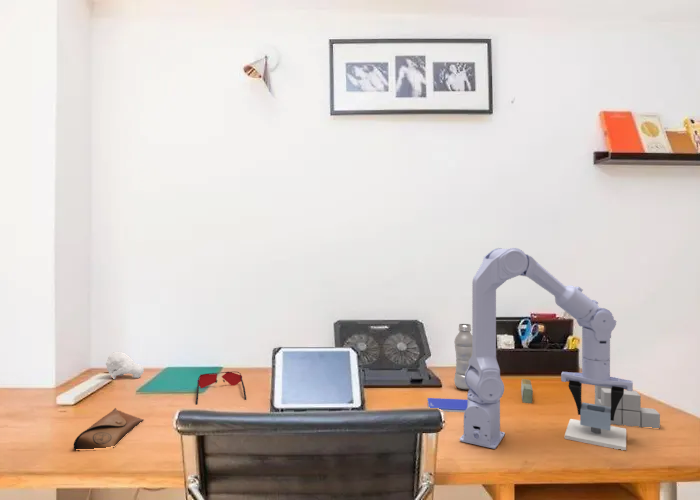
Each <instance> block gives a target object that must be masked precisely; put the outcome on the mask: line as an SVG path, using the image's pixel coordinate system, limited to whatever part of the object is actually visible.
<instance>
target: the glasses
mask: <svg viewBox="0 0 700 500" xmlns="http://www.w3.org/2000/svg"><path fill="white" fill-rule="evenodd" d="M220 374H223V375H222V376H221V378H222V381H223V383H224V384H225V383H228V384H229V385H230V386H236V385H238V384H239V383H241V386H242V389H243V390H242V391H243V398H244V401H247V395H246V393H247V392H246V388H245V385H244V381H243V375H242V373H240V372H239V371H236V372H233V371H223V372H220ZM217 378H218V372H209V373H202V374H200V375H199V377H198V379H197V380H196V382H197V385H196V395H195V396H196V397H195V405H198V403H199V393H200V392H199V390H200V389H203V388H206V387H208V386H210V385H213V384H217V383H218V380H217ZM199 388H200V389H199Z"/></svg>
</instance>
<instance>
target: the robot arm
mask: <svg viewBox="0 0 700 500" xmlns="http://www.w3.org/2000/svg"><path fill="white" fill-rule="evenodd" d="M518 276H519V277H527V278H528V279H530V280H531V281H533V282H534V283H535V284H536V285H538V286H540V287H541V288H542V289H544V290H546V291H547V292H548V293H549V294H551V295H553V297H554V301H555V305H557V306H558V307H559V308H560V309H562V310H563V311H564V312H566V313H567V314H568V315H570V316H571V317H572V318H574V319H575V320H576V323H577V324H578V326H579V327H581V334H582V335H581V337H582V338H581V342H582V343H581V349H582V350H581V352H582V353H581V372H572V371H571V372H570V371H569V372H568V371H562V372H561V374H560V376H561V380H560V381H561V382H564V383H566V382H568V386H567V387H568V389H569V390H570V392H571V394H572V397H573V399H574V402H575V406H576V410H577V415H578V416H580V410H581V406H582V402H583V401H582V386H583V385H591V386H595V385H597V386H604V387H611V420H612V421H614V415H615V411H616V408H617V406H618V404H619V402H620V400H621V398H622V396H623V394H624V390H627V391H634V390H633V388H634V387H633V384H634V383H633V382H634V381H633V380H630V379H624V378H619V377H615V376H611V339H612V332H613V330H614V329H615V327H616V325H617V320H616V319H615V318H614V315H613V313H612V312H611V311H610V310H609V309H607V308H604V307H601V306H600V305H599V301H597V300H596V299H595V300H594V299H591V298H590V297H588V296H587V294H585V293H584V292H583V291H584V289H582V288H581V287H580V286H575V285H565V284H564V283H562V282H561V281H560V280H559V279H558V278H556V277H555V276H554V275H553V274H551V273H550V272H549V271H548V270H547V269H546V268H544V267H543V266H542V265H541V264H540V263H539V262H538V261H537V260H535V258H534V257H533V256H532V255H529V254H526V253H525V252H524V250H522V249H520V248H517V247H510V248H501V247H500V248H499V247H498V248H495V249H492V250H491V251H490V252H488V253H487V254H486V255H484V256H483V258H482V262H481V264H480V266H479V267H478V269H477V271H476V273H475V274H474V276H473V279H472V285H471V286H472V289H471V291H472V297H471V298H472V305H471V306H472V317H471V318H472V326H471V331H472V333H471V335H472V356H471V358H470V359H469V365H468V369H467V371H466V373H465V383H466V385H467V386H468V387H469V389H468V391H467V395H466V396H467V398H466V400H467V409H466V410H465V412H463V434H462V435H461V436H460V437H459V442H463V443H467V444H471V445H472V444H473V445H477V446H479V447H480V446H481V447H485V448H488V449H489V448H490V449H495V450H496V449H497V447H498V445H500V443H501V441H502V439H503V438H504V437H505V435H506V433H505V432H504V431H501V398H502V397H503V395H504V392H505V384H504V381H503V379H502V378H501V369H500V366H499V363H498V360H497V289H498V288H500V287H501V286H502V285H503V284H504V283H506V282H507V281H509V280H511V279H513V278H516V277H518Z"/></svg>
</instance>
